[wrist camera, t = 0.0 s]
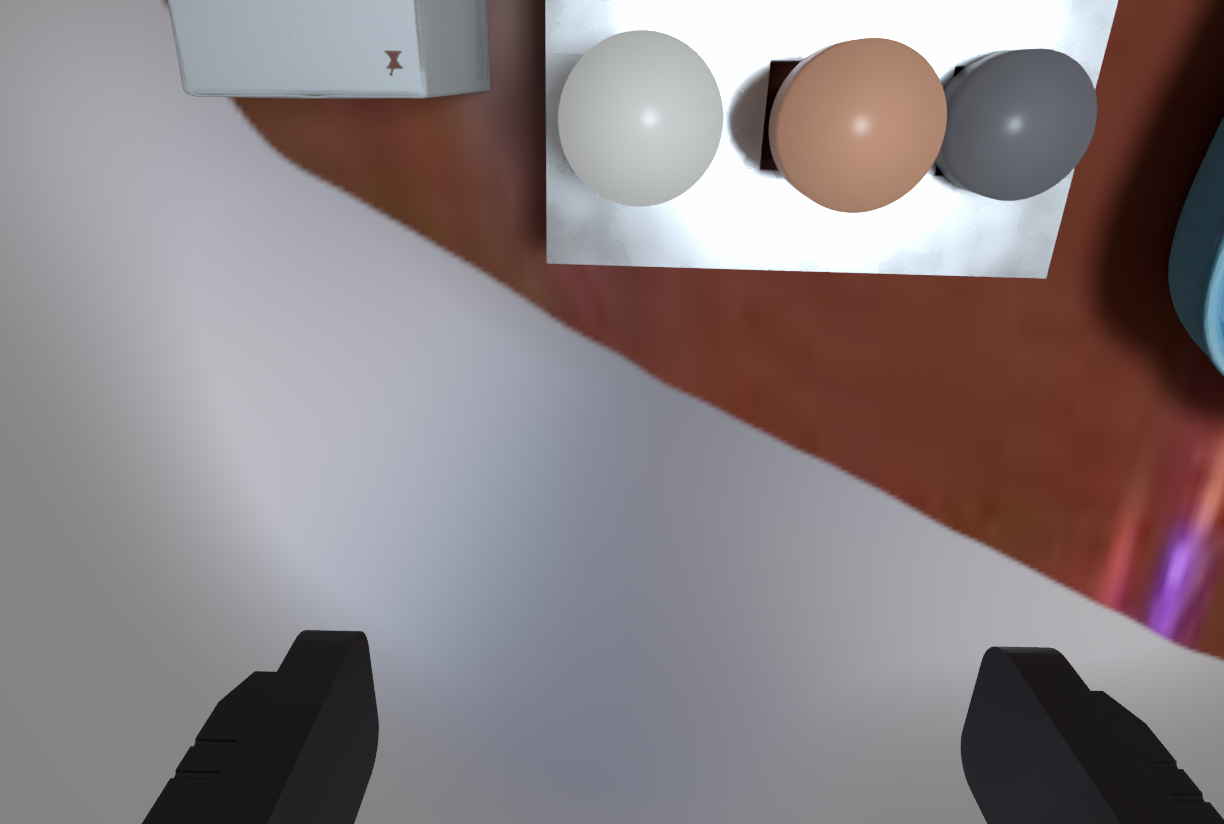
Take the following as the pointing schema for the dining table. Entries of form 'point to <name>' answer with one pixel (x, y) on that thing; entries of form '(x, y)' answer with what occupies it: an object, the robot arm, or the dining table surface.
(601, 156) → the grey oval piece
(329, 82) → the supplement box
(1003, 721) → the robot arm
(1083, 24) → the mount
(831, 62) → the tan egg
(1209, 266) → the casserole dish
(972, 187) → the knob
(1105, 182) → the dining table surface
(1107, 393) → the dining table surface
